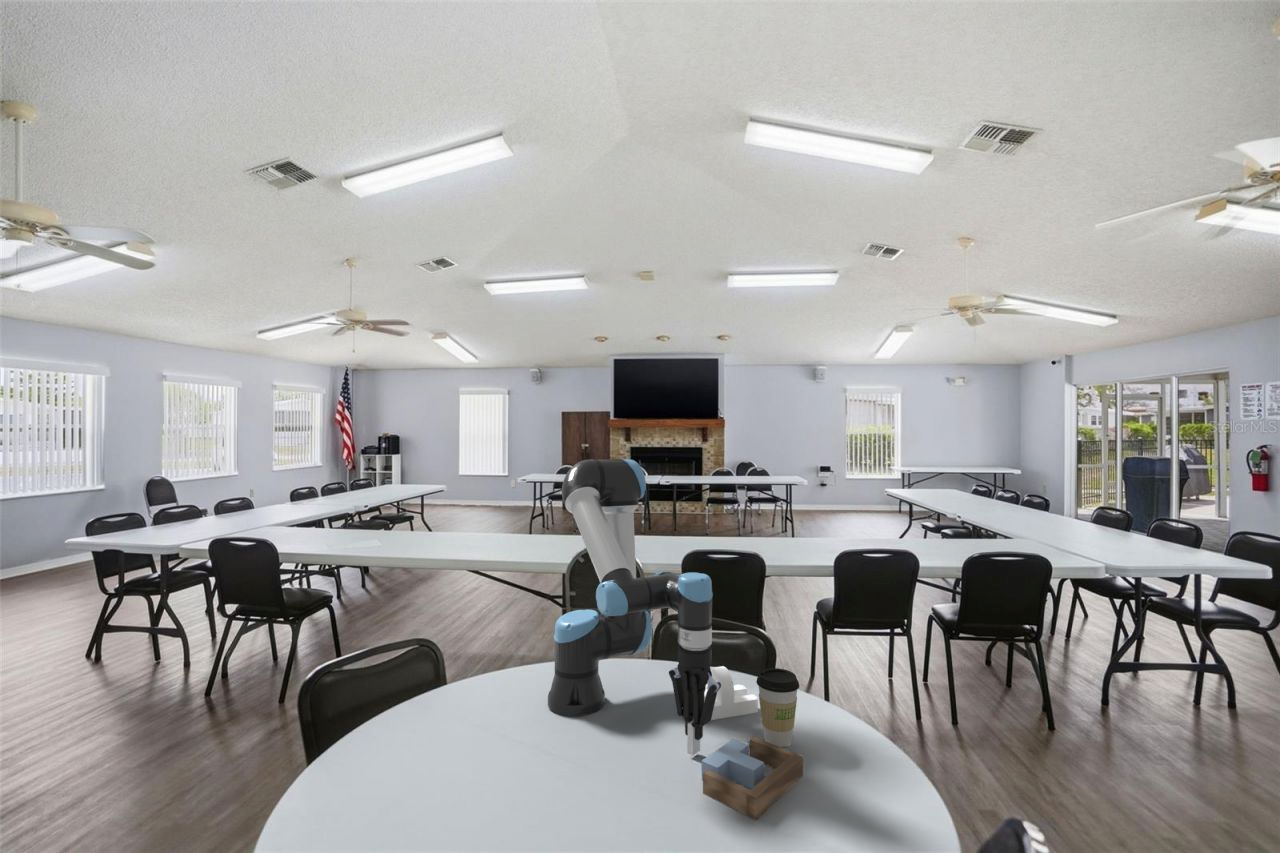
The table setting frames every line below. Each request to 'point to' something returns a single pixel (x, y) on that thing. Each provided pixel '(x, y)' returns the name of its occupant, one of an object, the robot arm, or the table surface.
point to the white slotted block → (730, 696)
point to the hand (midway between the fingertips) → (693, 751)
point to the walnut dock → (763, 792)
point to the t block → (735, 764)
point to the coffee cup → (777, 704)
